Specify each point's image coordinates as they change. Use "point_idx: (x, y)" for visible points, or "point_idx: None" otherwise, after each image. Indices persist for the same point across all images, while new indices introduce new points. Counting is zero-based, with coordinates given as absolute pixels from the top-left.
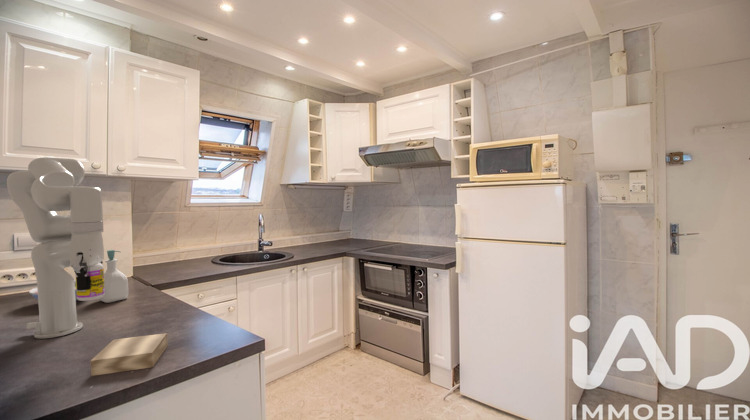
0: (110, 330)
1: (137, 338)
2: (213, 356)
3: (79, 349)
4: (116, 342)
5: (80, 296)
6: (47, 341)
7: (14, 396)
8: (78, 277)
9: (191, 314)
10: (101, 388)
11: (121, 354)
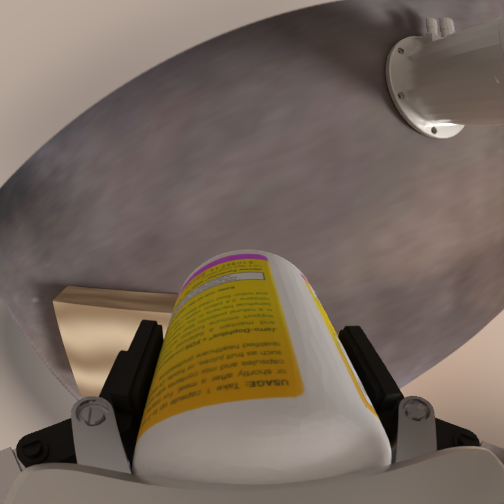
0: (382, 223)
1: None
2: None
3: (249, 187)
4: None
5: (178, 297)
6: (363, 73)
7: (24, 175)
8: (94, 406)
9: None
10: (30, 316)
11: (75, 351)
